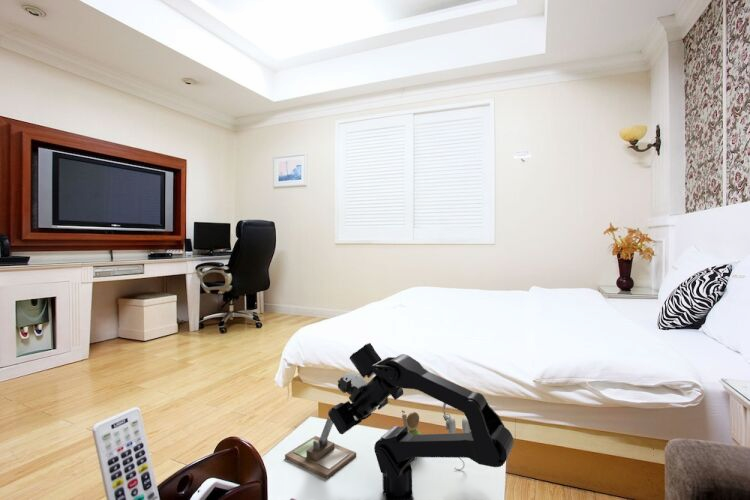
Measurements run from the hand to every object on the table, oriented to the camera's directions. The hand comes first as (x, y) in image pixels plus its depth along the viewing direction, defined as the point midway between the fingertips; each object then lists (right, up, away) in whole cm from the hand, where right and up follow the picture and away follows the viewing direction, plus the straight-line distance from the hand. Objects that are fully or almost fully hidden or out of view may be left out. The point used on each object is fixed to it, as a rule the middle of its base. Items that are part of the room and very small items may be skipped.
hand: (342, 423), depth 97 cm
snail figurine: (+19, -12, +9) cm, 24 cm away
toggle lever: (-7, -9, +5) cm, 12 cm away
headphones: (+31, -12, -2) cm, 33 cm away
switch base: (-7, -12, +5) cm, 15 cm away
